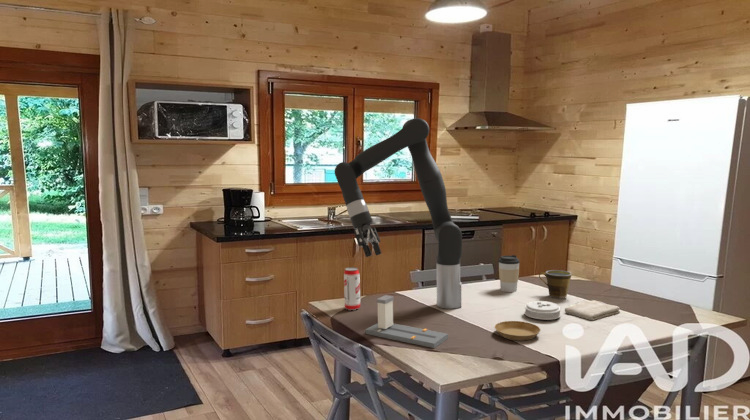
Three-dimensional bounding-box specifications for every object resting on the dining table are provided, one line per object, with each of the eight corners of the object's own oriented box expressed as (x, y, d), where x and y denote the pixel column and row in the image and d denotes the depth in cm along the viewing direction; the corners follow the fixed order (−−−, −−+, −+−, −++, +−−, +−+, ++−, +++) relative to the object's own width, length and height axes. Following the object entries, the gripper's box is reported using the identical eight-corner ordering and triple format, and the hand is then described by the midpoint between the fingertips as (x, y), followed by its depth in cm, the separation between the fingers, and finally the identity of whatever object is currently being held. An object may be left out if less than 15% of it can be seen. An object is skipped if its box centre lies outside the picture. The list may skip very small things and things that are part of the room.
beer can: (361, 306, 210) (360, 267, 208) (359, 311, 204) (358, 270, 202) (345, 306, 211) (344, 266, 209) (343, 310, 204) (342, 270, 203)
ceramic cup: (573, 295, 220) (573, 271, 219) (567, 301, 212) (568, 276, 210) (541, 291, 227) (542, 268, 226) (535, 296, 218) (535, 273, 217)
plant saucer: (490, 327, 183) (490, 320, 183) (533, 327, 183) (533, 320, 182) (499, 343, 168) (499, 335, 168) (546, 343, 168) (546, 335, 168)
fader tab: (377, 327, 179) (376, 299, 178) (385, 323, 183) (385, 295, 182) (385, 329, 177) (385, 300, 176) (393, 324, 182) (393, 296, 180)
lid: (526, 321, 189) (526, 308, 188) (523, 310, 201) (523, 298, 201) (563, 323, 187) (563, 309, 186) (557, 312, 199) (557, 299, 198)
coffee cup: (507, 293, 223) (508, 259, 222) (493, 289, 231) (493, 255, 230) (523, 290, 228) (524, 256, 226) (509, 286, 236) (509, 253, 234)
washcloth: (621, 313, 197) (622, 305, 196) (592, 322, 187) (592, 314, 187) (593, 305, 207) (593, 297, 206) (563, 314, 197) (564, 306, 197)
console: (365, 333, 179) (365, 328, 179) (381, 325, 187) (381, 319, 187) (434, 348, 165) (434, 342, 165) (448, 338, 173) (447, 332, 173)
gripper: (359, 210, 186) (374, 253, 184) (375, 210, 199) (390, 250, 197) (341, 218, 189) (357, 260, 186) (359, 217, 202) (373, 257, 199)
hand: (374, 255), depth 191 cm, fingers open, 8 cm apart
